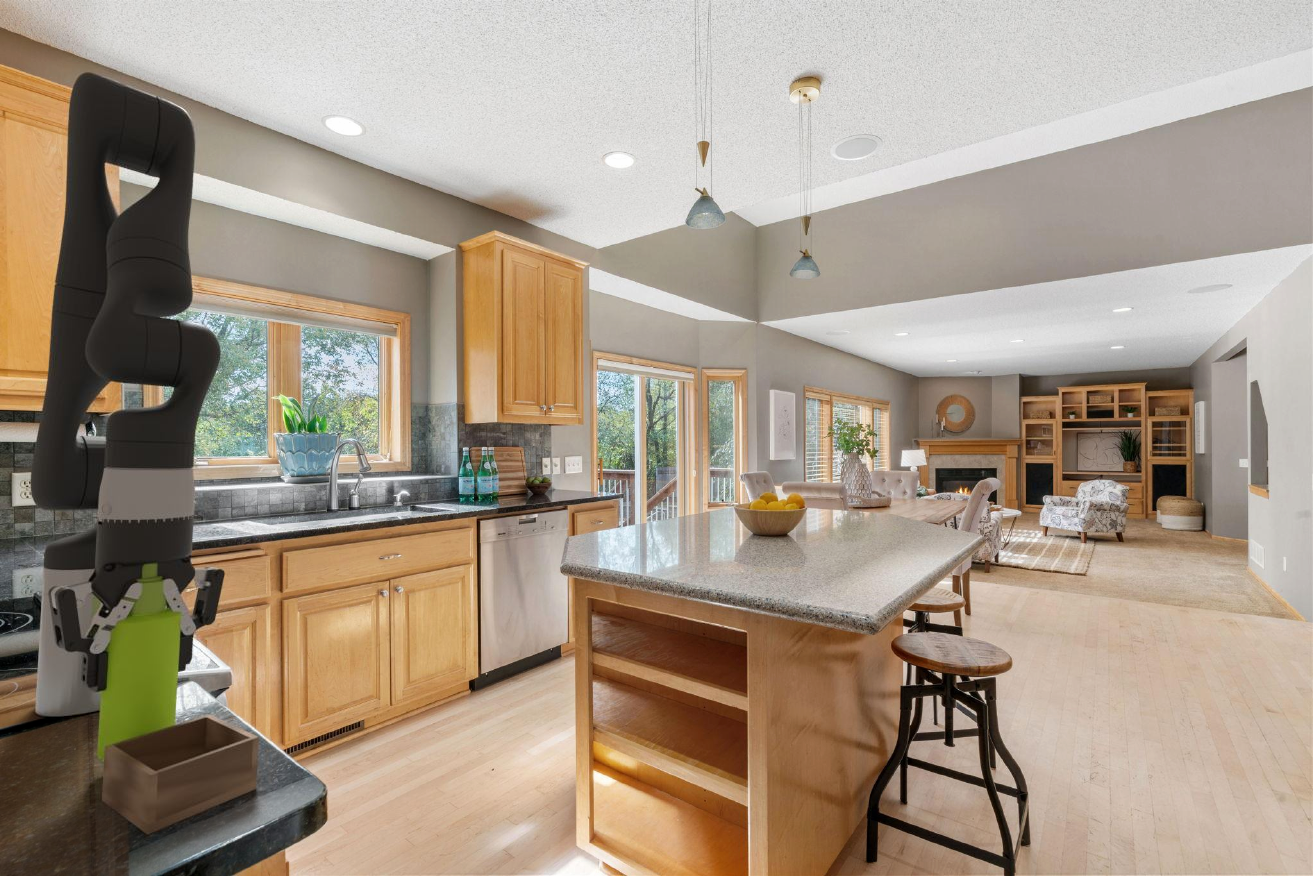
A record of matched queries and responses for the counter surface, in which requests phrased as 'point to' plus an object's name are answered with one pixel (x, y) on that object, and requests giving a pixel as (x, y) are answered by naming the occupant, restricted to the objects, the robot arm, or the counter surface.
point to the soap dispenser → (141, 667)
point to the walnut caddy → (179, 771)
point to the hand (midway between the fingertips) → (138, 679)
